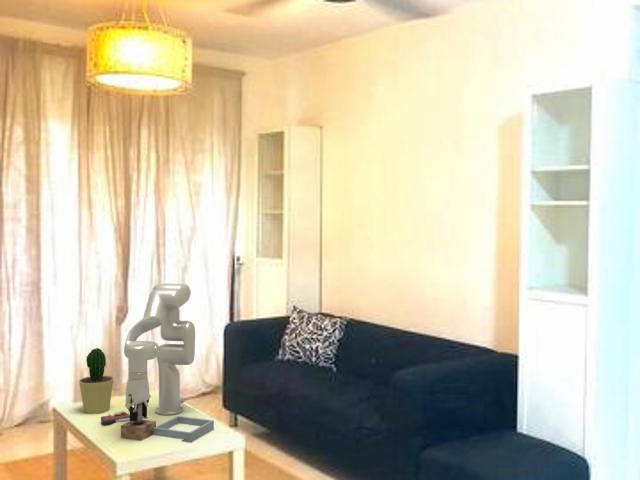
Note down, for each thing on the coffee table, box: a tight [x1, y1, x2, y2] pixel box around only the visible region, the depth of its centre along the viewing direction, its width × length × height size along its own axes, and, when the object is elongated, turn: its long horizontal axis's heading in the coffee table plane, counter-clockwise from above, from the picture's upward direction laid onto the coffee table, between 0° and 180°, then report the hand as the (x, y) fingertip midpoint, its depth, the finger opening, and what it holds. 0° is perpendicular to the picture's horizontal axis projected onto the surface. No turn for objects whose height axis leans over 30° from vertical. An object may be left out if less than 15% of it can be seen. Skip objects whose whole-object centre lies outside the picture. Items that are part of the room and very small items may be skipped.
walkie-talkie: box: [100, 410, 149, 427], centre depth 293 cm, size 9×4×20 cm
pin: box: [135, 399, 144, 426], centre depth 270 cm, size 5×5×15 cm
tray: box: [152, 415, 215, 443], centre depth 276 cm, size 18×18×4 cm
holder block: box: [120, 419, 157, 442], centre depth 270 cm, size 10×10×6 cm
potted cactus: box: [78, 347, 114, 415], centre depth 309 cm, size 15×15×30 cm
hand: (138, 418), depth 270 cm, fingers open, 5 cm apart
